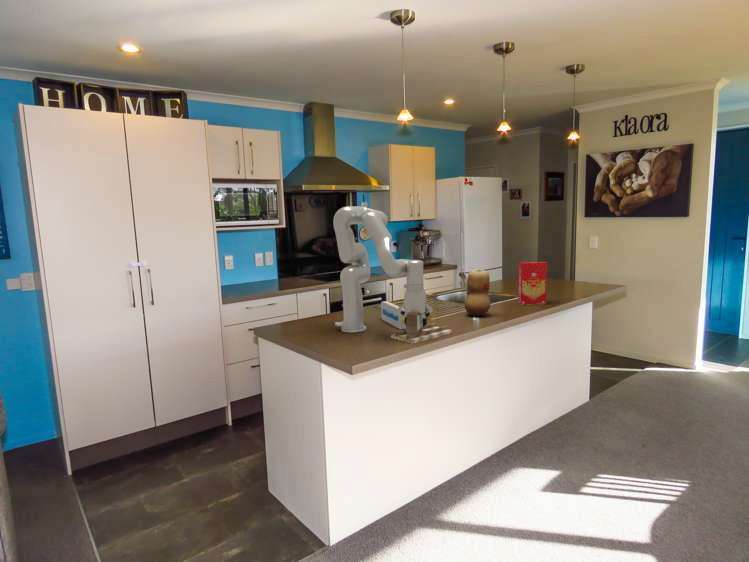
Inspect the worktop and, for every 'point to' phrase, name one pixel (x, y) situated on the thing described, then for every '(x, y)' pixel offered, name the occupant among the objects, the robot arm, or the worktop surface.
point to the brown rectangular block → (414, 323)
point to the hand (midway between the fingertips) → (415, 325)
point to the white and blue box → (392, 315)
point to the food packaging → (532, 282)
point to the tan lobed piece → (477, 292)
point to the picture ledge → (422, 334)
